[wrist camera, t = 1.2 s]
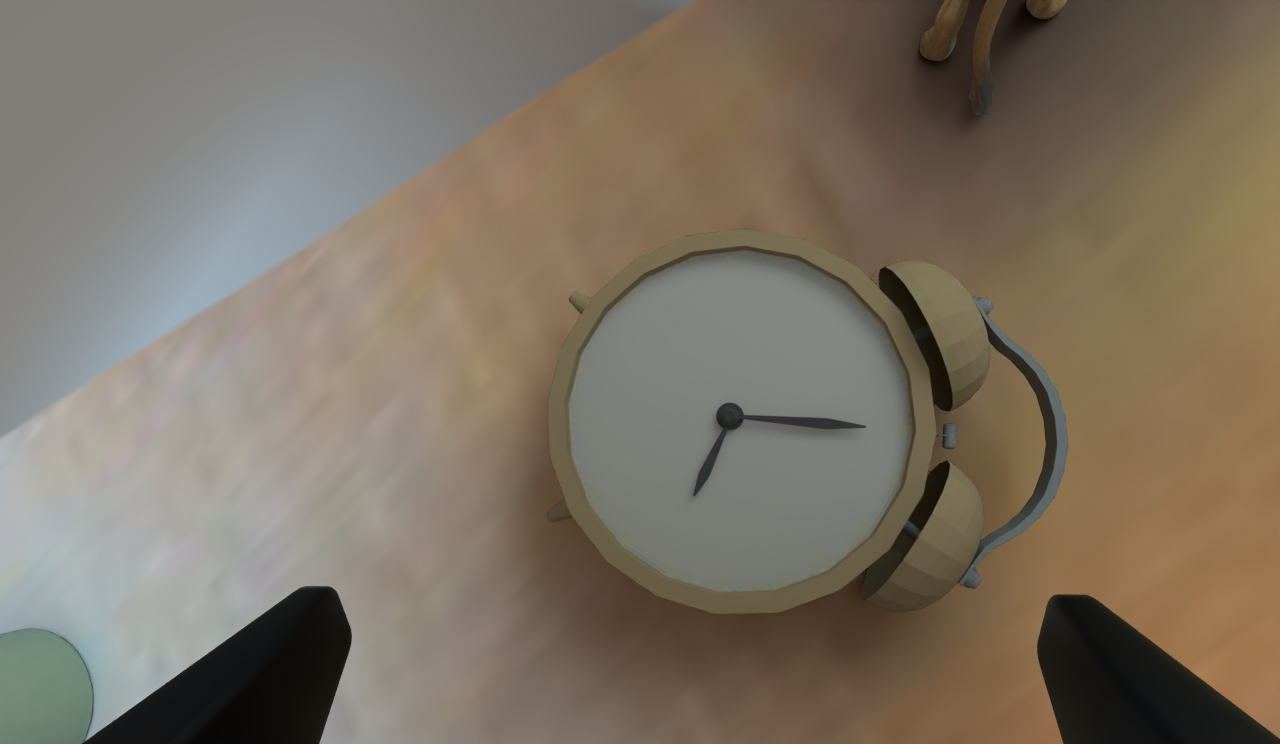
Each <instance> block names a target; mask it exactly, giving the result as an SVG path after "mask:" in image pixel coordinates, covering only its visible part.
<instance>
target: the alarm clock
mask: <svg viewBox="0 0 1280 744" xmlns="http://www.w3.org/2000/svg"><path fill="white" fill-rule="evenodd" d="M879 286H880V289H879V288H878V287H877V286H876V285H875V284H874V283H873V282H872V281H871V280H870V279H869V278H868V277H867V276H866V275H865V274H864V273H863V272H862V271H861V270H860V268H859V267H857V266H855V265H853V264H851V263H849V262H847V261H845V260H843V259H842V258H840V257H838V256H836V255H834V254H832V253H830V252H828V251H826V250H825V249H823V248H821V247H819V246H817V245H815V244H813V243H811V242H809V241H807V240H806V239H802V238H796V237H791V236H785V235H780V234H774V233H768V232H763V231H757V230H752V229H746V228H745V229H737V230H730V231H722V232H714V233H706V234H698V235H690V236H686V237H684V238H682V239H679V240H677V241H675V242H673V243H670V244H668V245H666V246H664V247H662V248H659V249H657V250H655V251H653V252H651V253H648V254H646V255H644V256H642V257H639V258H637V259H635V260H634V261H633V262H632V263H630V264H629V265H628V266H627V267H626V268H625V269H624V270H622V271H621V272H620V273H619V274H618V275H617V276H616V277H615V278H613V279H612V280H611V281H610V282H609V283H608V284H607V285H605V286H604V287H603V288H602V289H601V290H600V291H599V292H597V293H596V294H595V295H594V296H593V297H592V298H589V297H587V296H584V295H582V294H580V293H578V292H573V293H572V294H571V296H570V297H569V301H570V302H571V304H572V305H573V306H574V307H575V308H576V309H577V310H578V311H579V312H580V314H581V316H580V318H579V319H578V321H577V322H576V324H575V326H574V327H573V329H572V331H571V332H570V334H569V335H568V337H567V339H566V340H565V342H564V344H563V345H562V348H561V352H560V356H559V360H558V364H557V367H556V371H555V375H554V379H553V383H552V387H551V391H550V394H549V398H548V418H549V440H550V459H551V462H552V465H553V467H554V470H555V473H556V476H557V479H558V481H559V484H560V487H561V490H562V492H563V495H564V498H565V499H564V500H562V501H560V502H559V503H558V504H556V505H555V506H554V507H553V508H551V509H550V510H549V511H548V512H547V517H548V519H549V521H550V522H551V523H554V522H557V521H561V520H564V519H567V518H570V517H573V518H574V519H575V521H576V522H577V523H578V525H579V526H580V527H581V529H582V530H583V531H584V532H585V534H586V535H587V536H588V538H589V539H590V540H591V542H592V543H593V544H594V546H595V547H596V548H597V549H598V551H599V552H600V553H601V555H602V556H603V557H604V559H605V560H606V561H607V562H608V563H610V564H611V565H613V566H614V567H615V568H617V569H618V570H620V571H621V572H623V573H624V574H625V575H627V576H628V577H630V578H631V579H633V580H634V581H636V582H637V583H638V584H640V585H641V586H643V587H644V588H646V589H647V590H648V591H650V592H651V593H653V594H654V595H656V596H658V597H661V598H664V599H668V600H671V601H674V602H677V603H681V604H684V605H687V606H691V607H694V608H697V609H701V610H704V611H707V612H710V613H714V614H744V613H779V612H782V611H785V610H788V609H790V608H793V607H796V606H799V605H801V604H804V603H807V602H809V601H812V600H815V599H818V598H820V597H823V596H826V595H828V594H831V593H834V592H837V591H839V590H841V589H842V588H843V587H844V586H845V585H847V584H848V583H849V582H850V581H852V580H853V579H854V578H855V577H856V576H858V575H859V574H860V573H861V572H863V571H864V570H865V569H866V568H867V567H869V568H868V571H867V573H866V576H865V578H864V582H863V585H862V589H861V596H862V598H863V599H865V600H866V601H868V602H870V603H872V604H874V605H877V606H880V607H882V608H885V609H889V610H894V611H901V612H905V611H914V610H917V609H921V608H924V607H926V606H928V605H930V604H932V603H934V602H935V601H937V600H939V599H940V598H941V597H943V596H944V595H945V594H946V593H947V592H948V591H950V590H951V589H952V588H953V587H954V586H955V585H956V583H958V584H960V585H961V586H962V585H963V586H965V587H969V588H973V589H975V588H976V587H977V586H978V585H979V584H980V582H981V578H980V576H979V573H978V572H977V571H976V570H975V569H974V568H975V567H976V565H977V564H978V563H979V562H980V561H981V560H982V559H983V558H984V556H985V555H986V554H987V553H988V552H989V551H990V550H992V549H994V548H996V547H997V546H999V545H1001V544H1003V543H1005V542H1007V541H1008V540H1010V539H1012V538H1014V537H1015V536H1017V535H1019V534H1020V533H1022V532H1024V531H1025V530H1026V529H1027V528H1028V527H1030V526H1031V525H1032V524H1033V523H1034V522H1035V521H1036V520H1038V519H1039V518H1040V517H1041V515H1042V514H1043V513H1044V511H1045V510H1046V509H1047V507H1048V506H1049V504H1050V503H1051V502H1052V500H1053V499H1054V498H1055V495H1056V492H1057V489H1058V487H1059V484H1060V481H1061V478H1062V476H1063V473H1064V468H1065V462H1066V456H1067V449H1068V438H1067V428H1066V418H1065V415H1064V411H1063V408H1062V405H1061V401H1060V398H1059V395H1058V391H1057V390H1056V388H1055V386H1054V385H1053V383H1052V381H1051V380H1050V378H1049V377H1048V375H1047V373H1046V372H1045V370H1044V369H1043V368H1042V367H1041V366H1040V365H1039V364H1038V363H1037V362H1036V361H1035V359H1034V358H1033V357H1032V356H1031V355H1030V354H1029V353H1027V352H1026V351H1025V350H1023V349H1022V348H1021V347H1019V346H1018V345H1017V344H1015V343H1014V342H1013V341H1012V340H1011V339H1010V338H1009V337H1008V336H1007V335H1006V334H1005V333H1004V332H1002V331H1001V330H1000V328H999V327H998V326H997V325H996V324H995V323H994V322H993V321H992V320H991V319H990V318H989V317H988V316H987V315H988V314H989V312H990V311H991V310H992V308H993V305H992V303H991V301H990V300H989V299H988V298H978V299H977V298H976V296H973V297H971V296H970V295H969V293H968V292H967V291H966V289H965V288H964V287H963V286H962V284H961V283H959V282H958V281H957V280H956V279H955V278H954V277H953V276H952V275H951V274H949V273H948V272H947V271H945V270H943V269H941V268H938V267H936V266H934V265H932V264H929V263H925V262H922V261H904V262H899V263H895V264H892V265H889V266H886V267H884V268H882V269H881V270H880V273H879ZM989 342H990V343H991V344H992V345H993V346H994V348H995V349H996V350H997V351H999V352H1000V353H1001V354H1003V355H1004V356H1005V357H1007V358H1008V359H1009V360H1011V362H1012V363H1013V364H1014V365H1015V366H1016V367H1017V368H1018V369H1019V370H1020V371H1021V372H1022V373H1023V374H1024V376H1025V377H1026V379H1027V380H1028V382H1029V384H1030V385H1031V387H1032V389H1033V390H1034V392H1035V394H1036V396H1037V399H1038V403H1039V406H1040V409H1041V413H1042V416H1043V420H1044V429H1045V440H1046V448H1045V455H1044V461H1043V468H1042V471H1041V474H1040V477H1039V479H1038V482H1037V485H1036V488H1035V490H1034V493H1033V495H1032V496H1031V498H1030V499H1029V500H1028V502H1027V503H1026V505H1025V506H1024V507H1023V509H1022V510H1021V511H1020V512H1019V513H1018V514H1017V515H1016V516H1015V517H1014V518H1013V519H1011V520H1010V521H1009V522H1008V523H1007V524H1006V525H1005V526H1003V527H1001V528H999V529H998V530H996V531H994V532H993V533H991V534H989V535H988V536H987V537H985V538H984V539H982V540H981V541H980V539H981V535H982V531H983V520H984V511H983V506H982V500H981V498H980V495H979V492H978V490H977V489H976V487H975V486H974V484H973V483H972V481H971V480H970V479H969V478H968V477H967V476H966V475H965V474H963V473H962V472H961V471H960V470H959V469H958V468H957V467H956V466H954V465H953V464H951V463H950V462H948V461H947V460H946V461H944V462H942V463H940V464H939V465H938V466H937V467H935V468H934V469H933V470H932V471H931V472H930V473H929V474H928V469H929V465H930V460H931V456H932V451H933V446H934V442H935V437H936V436H943V447H944V448H946V449H954V448H955V447H956V425H955V424H951V423H947V424H944V425H943V435H940V434H936V433H937V431H936V423H935V414H934V406H933V402H934V403H935V404H936V405H937V406H938V407H939V408H940V409H941V410H944V411H948V412H949V411H952V410H954V409H956V408H958V407H960V406H961V405H962V404H964V403H965V402H967V401H968V400H969V399H971V397H972V396H973V395H974V394H975V393H976V392H977V391H978V389H979V388H980V387H981V386H982V384H983V382H984V380H985V378H986V376H987V372H988V369H989V361H990V346H989ZM927 474H928V475H927Z"/></svg>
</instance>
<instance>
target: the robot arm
mask: <svg viewBox="0 0 1280 744" xmlns="http://www.w3.org/2000/svg"><path fill="white" fill-rule="evenodd" d="M351 641H352V634H351V628H350V625H349V622H348V620H347V617H346V614H345V612H344V609H343V606H342V604H341V601H340V598H339V596H338V594H337V592H336V591H335V590H334V589H333V588H332V587H329V586H305V587H302V588H299V589H298V590H296V591H295V592H293V593H292V594H290V595H289V596H288V597H286V598H285V599H283V600H282V601H281V602H279V603H278V604H276V605H275V606H274V607H272V608H271V609H269V610H268V611H267V612H265V613H264V614H262V615H261V616H260V617H258V618H257V619H255V620H254V621H253V622H251V623H250V624H248V625H247V626H246V627H244V628H243V629H241V630H240V631H239V632H237V633H236V634H234V635H233V636H232V637H230V638H229V639H228V640H226V641H225V642H223V643H222V644H221V645H219V646H218V647H216V648H215V649H214V650H212V651H211V652H209V653H208V654H207V655H205V656H204V657H202V658H201V659H200V660H198V661H197V662H195V663H194V664H193V665H191V666H190V667H188V668H187V669H186V670H184V671H183V672H181V673H180V674H179V675H177V676H176V677H174V678H173V679H172V680H170V681H169V682H167V683H166V684H165V685H163V686H162V687H160V688H159V689H158V690H156V691H155V692H154V693H152V694H151V695H149V696H148V697H147V698H145V699H144V700H142V701H141V702H140V703H138V704H137V705H135V706H134V707H133V708H131V709H130V710H128V711H127V712H126V713H124V714H123V715H121V716H120V717H119V718H117V719H116V720H114V721H113V722H112V723H110V724H109V725H107V726H106V727H105V728H103V729H102V730H100V731H99V732H98V733H96V734H95V735H93V736H92V737H91V738H89V739H88V740H86V741H85V742H84V743H82V744H319V743H320V740H321V737H322V734H323V731H324V728H325V724H326V721H327V718H328V715H329V712H330V709H331V706H332V703H333V700H334V697H335V694H336V691H337V687H338V684H339V681H340V678H341V675H342V672H343V669H344V666H345V663H346V660H347V657H348V654H349V650H350V647H351ZM1037 652H1038V659H1039V664H1040V667H1041V671H1042V674H1043V677H1044V680H1045V684H1046V687H1047V690H1048V694H1049V697H1050V700H1051V704H1052V707H1053V710H1054V714H1055V717H1056V720H1057V724H1058V727H1059V730H1060V734H1061V737H1062V740H1063V743H1064V744H1280V739H1279V738H1278V737H1276V736H1275V735H1274V734H1273V733H1271V732H1270V731H1269V730H1267V729H1266V728H1265V727H1263V726H1262V725H1261V724H1259V723H1258V722H1257V721H1255V720H1254V719H1253V718H1251V717H1250V716H1249V715H1248V714H1246V713H1245V712H1244V711H1242V710H1241V709H1240V708H1238V707H1237V706H1236V705H1234V704H1233V703H1232V702H1230V701H1229V700H1228V699H1227V698H1225V697H1224V696H1223V695H1221V694H1220V693H1219V692H1217V691H1216V690H1215V689H1213V688H1212V687H1211V686H1209V685H1208V684H1207V683H1205V682H1204V681H1203V680H1202V679H1200V678H1199V677H1198V676H1196V675H1195V674H1194V673H1192V672H1191V671H1190V670H1188V669H1187V668H1186V667H1184V666H1183V665H1182V664H1181V663H1179V662H1178V661H1177V660H1175V659H1174V658H1173V657H1171V656H1170V655H1169V654H1167V653H1166V652H1165V651H1163V650H1162V649H1161V648H1159V647H1158V646H1157V645H1156V644H1154V643H1153V642H1152V641H1150V640H1149V639H1148V638H1146V637H1145V636H1144V635H1142V634H1141V633H1140V632H1138V631H1137V630H1136V629H1134V628H1133V627H1132V626H1131V625H1129V624H1128V623H1127V622H1125V621H1124V620H1123V619H1121V618H1120V617H1119V616H1117V615H1116V614H1115V613H1113V612H1112V611H1111V610H1110V609H1108V608H1107V607H1106V606H1104V605H1103V604H1102V603H1100V602H1099V601H1098V600H1096V599H1095V598H1093V597H1091V596H1088V595H1062V594H1058V595H1054V596H1052V597H1051V598H1050V600H1049V602H1048V604H1047V608H1046V612H1045V615H1044V619H1043V623H1042V627H1041V631H1040V635H1039V639H1038V644H1037Z"/></svg>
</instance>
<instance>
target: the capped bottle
mask: <svg viewBox="0 0 1280 744" xmlns="http://www.w3.org/2000/svg"><path fill="white" fill-rule="evenodd" d="M92 708H93V694H92V686H91V681H90V677H89V674H88V671H87V669H86V666H85V664H84V662H83V660H82V659H81V657H80V656H79V654H78V653H77V652H76V650H75V649H74V648H73V647H72V646H71V645H70V644H69V643H68V642H67V641H65V640H64V639H62V638H61V637H59V636H57V635H55V634H53V633H51V632H48V631H44V630H39V629H22V630H16V631H12V632H8V633H4V634H0V744H82V743H83V741H84V739H85V737H86V734H87V732H88V729H89V725H90V721H91V716H92Z"/></svg>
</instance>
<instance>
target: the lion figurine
mask: <svg viewBox="0 0 1280 744" xmlns="http://www.w3.org/2000/svg"><path fill="white" fill-rule="evenodd" d="M1006 2H1007V0H986V3H985V5H984V8H983V10H982V13H981V16H980V18H979V21H978V23H977V27H976V31H975V36H974V44H973V53H972V68H973V82H972V87H971V90H970V93H969V99H970V101H971V103H972V110H973V112H974V113H975V114H976V115H977V116H979V117H985V116H987V115H988V114H989V112H990V109H991V96H992V90H993V84H994V80H993V76H992V73H991V68H990V61H989V54H990V45H991V41H992V37H993V34H994V30H995V27H996V25H997V22H998V20H999V17H1000V15H1001V12H1002V10H1003V8H1004V6H1005V4H1006ZM968 3H969V0H945V1H944V3H943V5H942V7H941V8H940V10H939V12H938V14H937V16H936V20H935V25H934V26H933V27H931V28H930V29H929V30H927V31H926V32H925V33H924V34H923V36H922V39H921V42H920V52H921V54H922V55H923V56H924V57H925V58H927V59H929V60H933V61H942V60H945V59H946V58H947V57H948V56H949V55H950V54H951V52H952V51H953V49H954V47H955V44H956V35H957V33H958V31H959V29H960V27H961V25H962V23H963V21H964V18H965V15H966V12H967V7H968ZM1065 3H1066V0H1027V3H1026V6H1027V9H1028V10H1029V11H1030V13H1031V14H1032V15H1033V16H1034V17H1036V18H1039V19H1048V18H1051V17H1053V16H1054V15H1056V14H1057V13H1059V12H1060V10H1061V9H1062V8H1063V7H1064V5H1065Z"/></svg>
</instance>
